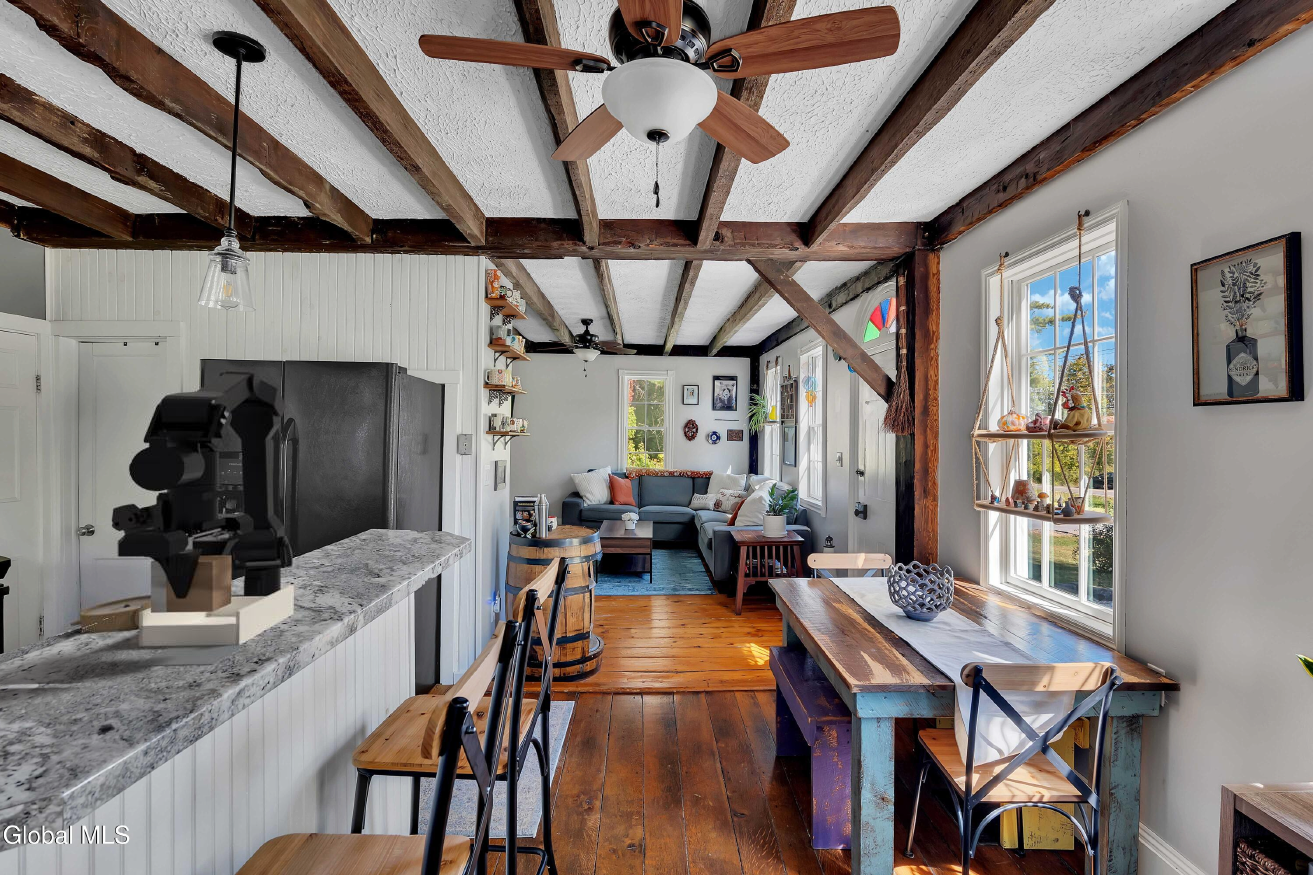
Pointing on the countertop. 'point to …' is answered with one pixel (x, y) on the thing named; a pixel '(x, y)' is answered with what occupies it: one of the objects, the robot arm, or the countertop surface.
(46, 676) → the countertop surface
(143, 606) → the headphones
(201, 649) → the slate mat
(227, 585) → the walnut block
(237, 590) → the countertop surface
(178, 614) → the drawer
